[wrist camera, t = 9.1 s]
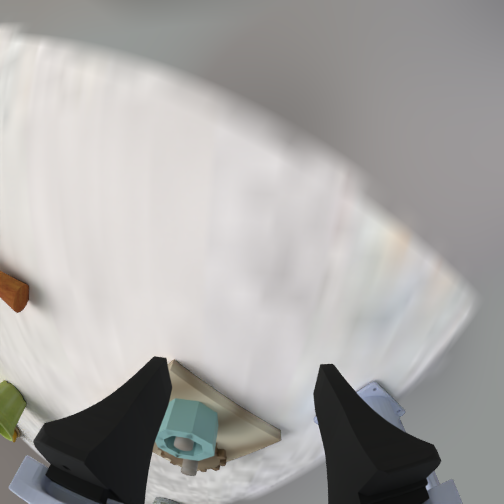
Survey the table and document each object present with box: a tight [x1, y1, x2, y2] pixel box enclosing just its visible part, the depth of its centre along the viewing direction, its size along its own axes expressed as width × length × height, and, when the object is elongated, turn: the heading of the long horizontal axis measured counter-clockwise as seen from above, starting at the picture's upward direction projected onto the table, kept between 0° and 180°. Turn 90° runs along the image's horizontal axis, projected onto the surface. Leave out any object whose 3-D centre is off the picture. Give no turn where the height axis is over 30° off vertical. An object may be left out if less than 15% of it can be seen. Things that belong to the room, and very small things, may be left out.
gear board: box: [152, 360, 281, 476], centre depth 24 cm, size 15×16×6 cm
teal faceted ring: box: [155, 398, 218, 461], centre depth 22 cm, size 6×6×4 cm
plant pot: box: [0, 381, 26, 441], centre depth 25 cm, size 9×9×9 cm
